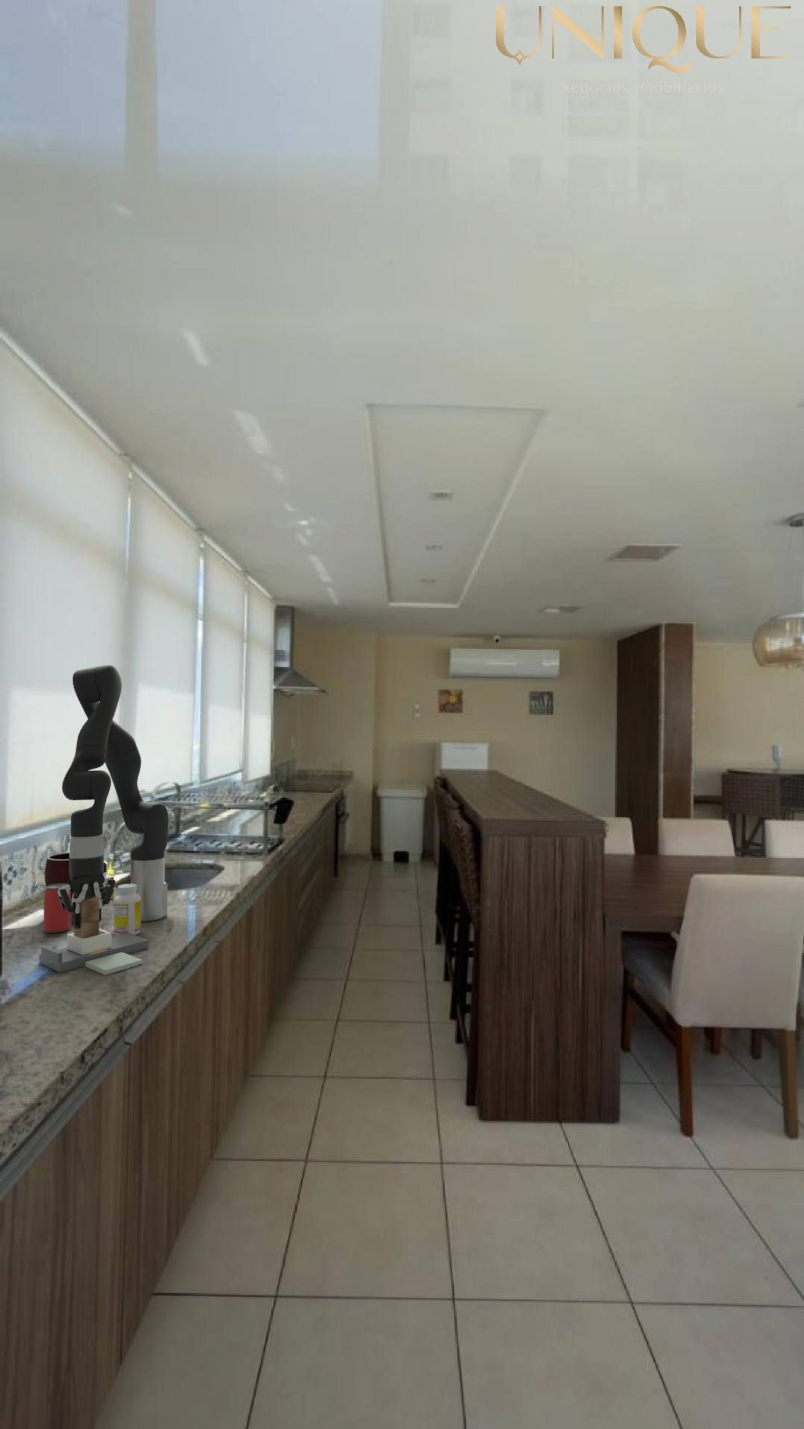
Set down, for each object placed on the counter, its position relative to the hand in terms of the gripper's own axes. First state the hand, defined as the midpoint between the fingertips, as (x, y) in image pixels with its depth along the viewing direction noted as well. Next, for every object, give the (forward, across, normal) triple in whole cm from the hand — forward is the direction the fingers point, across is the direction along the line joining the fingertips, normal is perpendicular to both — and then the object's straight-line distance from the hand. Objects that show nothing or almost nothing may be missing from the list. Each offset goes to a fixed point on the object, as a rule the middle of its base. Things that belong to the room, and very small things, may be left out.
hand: (86, 925), depth 166 cm
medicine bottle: (+8, -30, -52) cm, 61 cm away
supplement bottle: (+8, -16, -10) cm, 21 cm away
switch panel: (+8, -2, 0) cm, 8 cm away
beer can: (+8, -6, -28) cm, 30 cm away
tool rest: (+8, -1, +10) cm, 13 cm away
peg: (+3, 0, 0) cm, 3 cm away
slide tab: (+6, -1, 0) cm, 6 cm away
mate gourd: (+8, -18, -42) cm, 46 cm away
